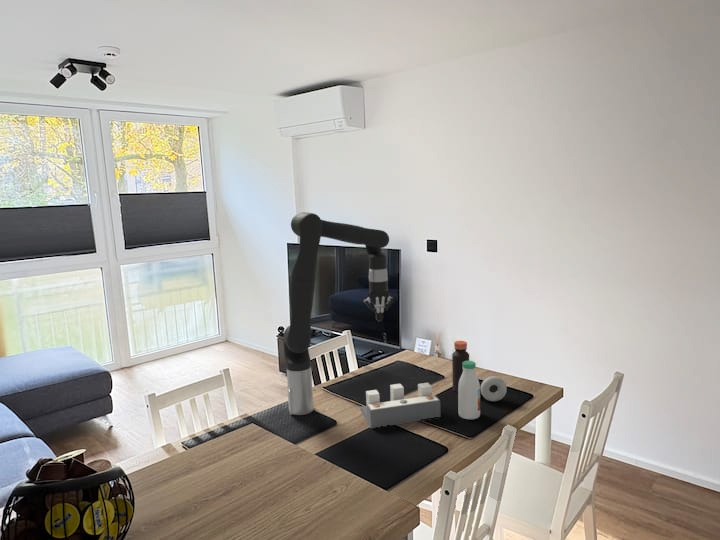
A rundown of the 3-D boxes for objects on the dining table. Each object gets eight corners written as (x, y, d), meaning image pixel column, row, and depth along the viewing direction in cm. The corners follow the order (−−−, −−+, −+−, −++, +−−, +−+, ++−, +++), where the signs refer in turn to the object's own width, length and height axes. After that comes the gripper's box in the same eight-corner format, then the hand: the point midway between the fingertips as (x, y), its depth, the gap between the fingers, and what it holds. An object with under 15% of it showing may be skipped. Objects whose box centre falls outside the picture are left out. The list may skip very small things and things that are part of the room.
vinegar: (449, 387, 204) (449, 341, 201) (464, 385, 206) (463, 339, 203) (457, 394, 198) (457, 346, 194) (472, 391, 200) (472, 343, 196)
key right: (422, 408, 182) (421, 387, 181) (418, 404, 186) (417, 383, 185) (432, 407, 183) (431, 386, 182) (428, 402, 187) (427, 382, 186)
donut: (505, 398, 192) (505, 374, 190) (507, 402, 188) (508, 377, 187) (479, 399, 192) (479, 375, 190) (481, 403, 188) (481, 378, 187)
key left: (369, 416, 178) (368, 395, 176) (366, 411, 181) (365, 391, 180) (380, 414, 178) (379, 393, 177) (377, 410, 182) (376, 389, 181)
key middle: (394, 409, 182) (393, 388, 181) (390, 405, 186) (390, 384, 185) (404, 408, 183) (403, 387, 182) (400, 403, 187) (400, 383, 186)
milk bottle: (474, 422, 174) (474, 367, 171) (454, 416, 178) (454, 363, 175) (483, 413, 180) (483, 361, 177) (464, 408, 185) (463, 357, 181)
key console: (370, 428, 172) (370, 409, 171) (360, 410, 187) (360, 392, 186) (440, 417, 178) (440, 399, 177) (425, 400, 193) (425, 383, 192)
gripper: (364, 282, 194) (366, 325, 197) (396, 279, 197) (398, 321, 200) (360, 279, 201) (361, 320, 204) (391, 276, 204) (392, 317, 207)
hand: (379, 321), depth 202 cm, fingers closed
